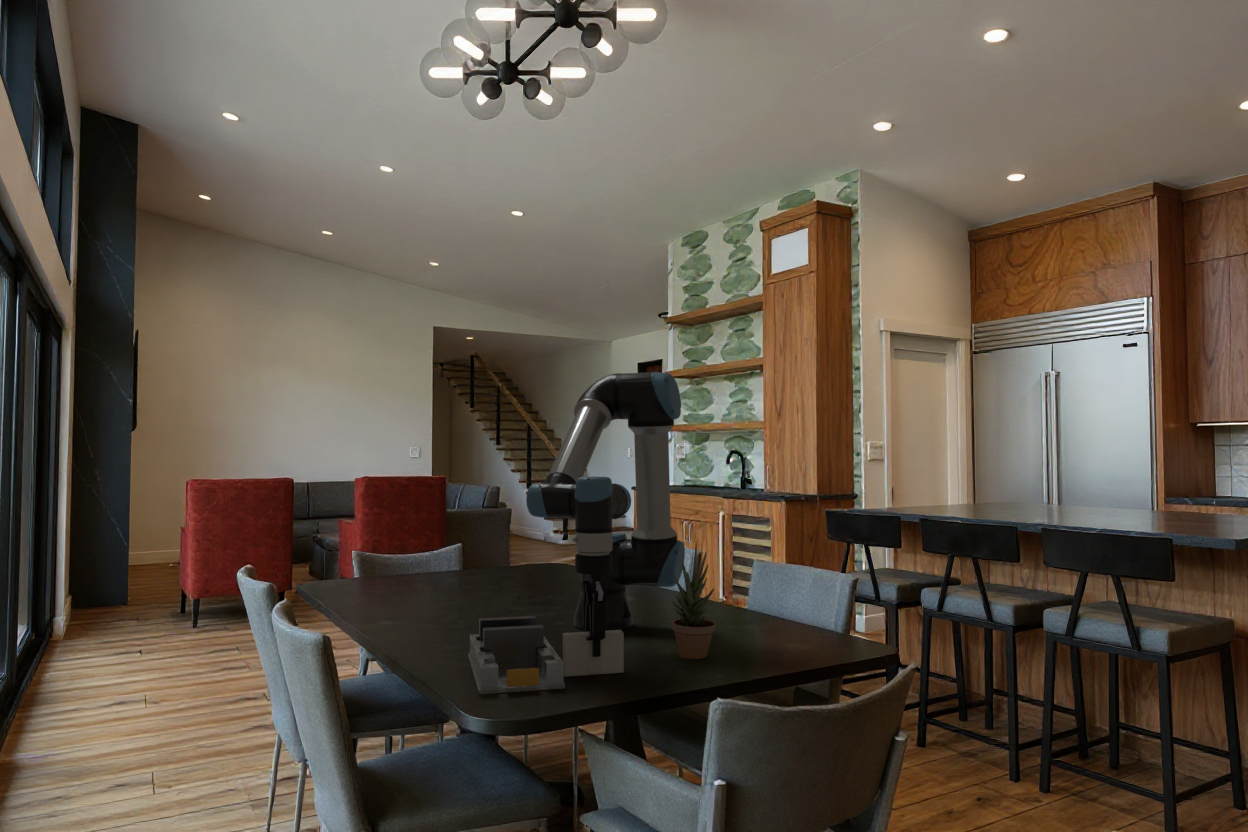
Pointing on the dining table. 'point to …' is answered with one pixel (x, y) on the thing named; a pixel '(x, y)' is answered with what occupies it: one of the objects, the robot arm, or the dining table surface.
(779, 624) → the dining table surface
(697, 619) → the potted plant
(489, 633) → the rack
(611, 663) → the panel
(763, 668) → the dining table surface
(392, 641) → the dining table surface
